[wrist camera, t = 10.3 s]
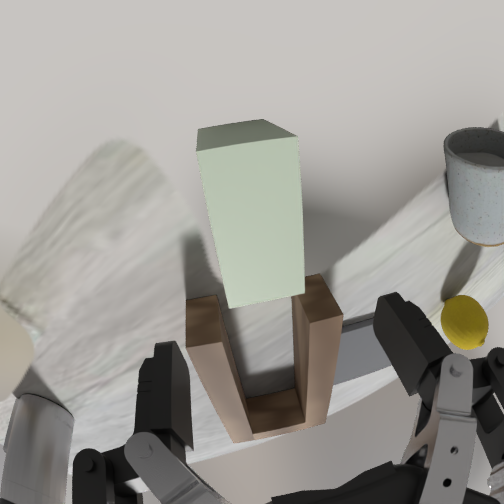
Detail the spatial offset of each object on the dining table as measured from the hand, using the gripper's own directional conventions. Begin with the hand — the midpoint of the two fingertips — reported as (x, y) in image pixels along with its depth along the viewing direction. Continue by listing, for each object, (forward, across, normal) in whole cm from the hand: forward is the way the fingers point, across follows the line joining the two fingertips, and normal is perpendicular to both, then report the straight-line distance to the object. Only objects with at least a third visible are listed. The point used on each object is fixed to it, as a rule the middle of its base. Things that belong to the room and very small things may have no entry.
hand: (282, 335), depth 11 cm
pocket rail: (+11, 0, +16) cm, 19 cm away
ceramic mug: (+11, -21, -2) cm, 24 cm away
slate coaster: (+11, -11, +19) cm, 24 cm away
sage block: (+11, 0, -2) cm, 11 cm away
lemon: (+11, -23, +16) cm, 30 cm away
